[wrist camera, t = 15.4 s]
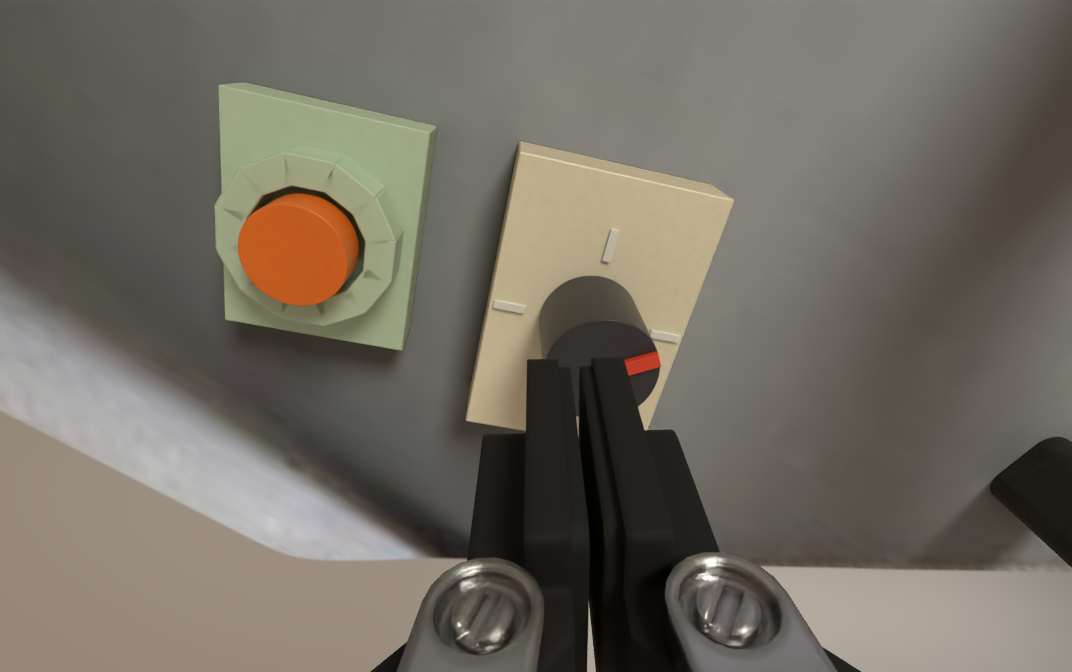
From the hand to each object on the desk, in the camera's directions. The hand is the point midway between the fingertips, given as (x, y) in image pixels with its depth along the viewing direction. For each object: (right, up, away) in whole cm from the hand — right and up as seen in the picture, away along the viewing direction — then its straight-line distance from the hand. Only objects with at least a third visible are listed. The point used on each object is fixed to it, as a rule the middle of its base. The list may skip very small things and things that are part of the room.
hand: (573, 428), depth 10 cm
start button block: (-10, +7, +16) cm, 20 cm away
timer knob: (+2, +2, +15) cm, 15 cm away
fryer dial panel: (+2, +4, +18) cm, 18 cm away
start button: (-10, +5, +12) cm, 17 cm away
